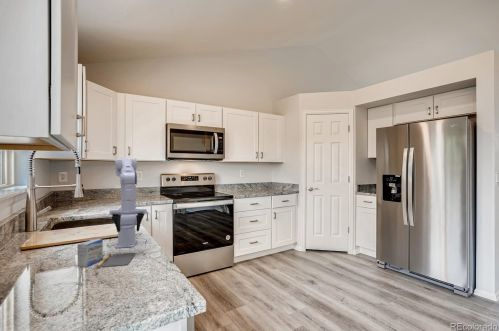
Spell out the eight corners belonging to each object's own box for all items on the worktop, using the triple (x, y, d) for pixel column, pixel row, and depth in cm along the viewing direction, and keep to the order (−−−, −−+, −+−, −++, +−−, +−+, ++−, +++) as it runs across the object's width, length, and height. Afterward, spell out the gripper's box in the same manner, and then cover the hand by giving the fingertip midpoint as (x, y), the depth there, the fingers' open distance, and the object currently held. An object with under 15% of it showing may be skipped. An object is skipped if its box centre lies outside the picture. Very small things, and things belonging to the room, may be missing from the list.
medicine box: (86, 267, 94) (87, 244, 94) (76, 266, 95) (77, 243, 95) (103, 260, 102) (103, 238, 102) (93, 259, 103) (93, 238, 103)
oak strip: (108, 256, 106) (108, 253, 106) (111, 256, 107) (111, 253, 107) (96, 268, 93) (96, 265, 93) (99, 268, 93) (99, 265, 93)
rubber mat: (113, 255, 108) (113, 254, 108) (135, 253, 110) (135, 252, 110) (102, 267, 94) (102, 266, 94) (127, 265, 96) (127, 264, 96)
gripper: (107, 201, 103) (106, 234, 102) (144, 200, 106) (144, 232, 106) (112, 199, 109) (112, 230, 109) (147, 198, 113) (147, 228, 112)
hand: (128, 231), depth 108 cm, fingers open, 7 cm apart
